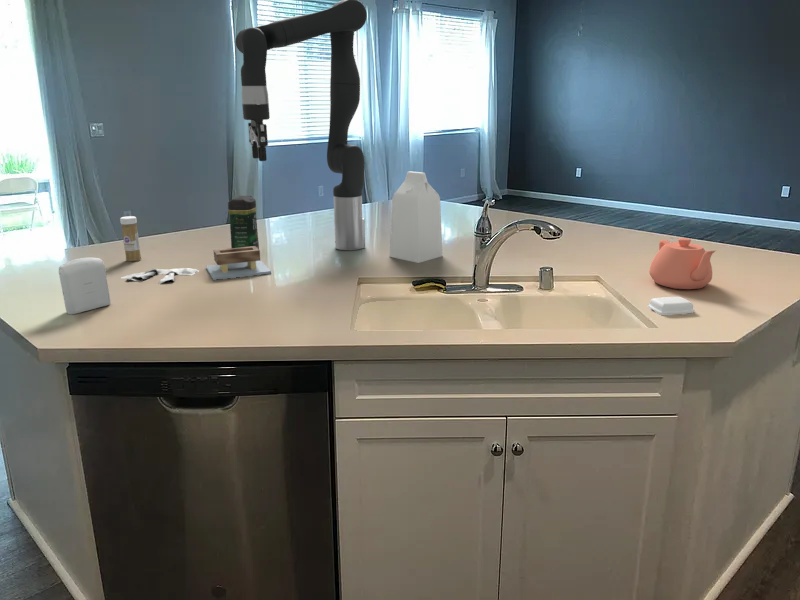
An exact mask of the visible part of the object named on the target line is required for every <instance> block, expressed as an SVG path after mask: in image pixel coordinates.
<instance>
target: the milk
mask: <svg viewBox="0 0 800 600" xmlns="http://www.w3.org/2000/svg"><path fill="white" fill-rule="evenodd" d="M428 181H429V180H428V179H427V175H426V173H425V172H421V171H420V172H419V171H407V172H406V175H405V178H404V181H403V182H402V183H401V184H400V186H399V187H398V188H397V190H396V191H395V192H394V193H393V195H392V197H391V198H392V199H391V212H390V232H389V233H390V237H389V238H390V240H389V257H390V258H395V259H398V260H404V261H407V262H412V263H417V264H420V263H423V262H426V261H429V260H430V261H431V260H434V259H436V258H441V257H443V237H442V235H443V234H442V211H441V210H442V209H441V207H442V206H441V197H440V195H439V193H438V192H437V191H436V189H434V188H433V186H432V185H431V184H430V183H429V182H428Z"/></svg>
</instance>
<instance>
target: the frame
mask: <svg viewBox="0 0 800 600" xmlns="http://www.w3.org/2000/svg"><path fill="white" fill-rule="evenodd" d="M213 257H214V258H213V261H214V262H215V263H216V265H223V264H232V263H242V262H251V261H260V260H261V250H260V248H259V249H258V248H257V247H256V246H250V247H240V248H231V247H230V248H221V249H220V248H219V249H213Z"/></svg>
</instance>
